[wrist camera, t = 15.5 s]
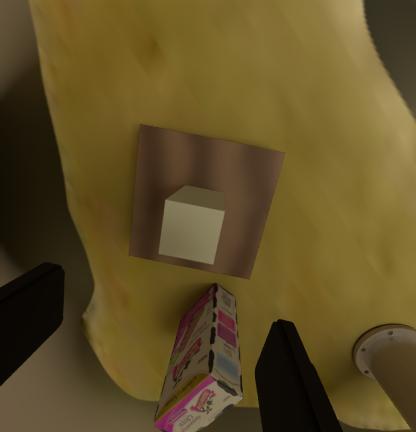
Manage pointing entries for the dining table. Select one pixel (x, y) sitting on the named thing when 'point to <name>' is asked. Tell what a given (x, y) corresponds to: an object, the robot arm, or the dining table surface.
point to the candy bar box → (202, 366)
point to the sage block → (192, 224)
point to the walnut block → (207, 179)
